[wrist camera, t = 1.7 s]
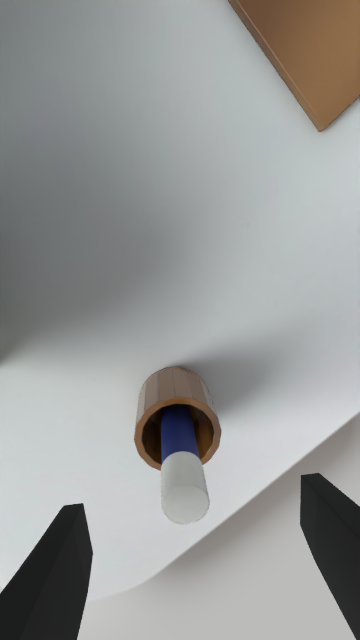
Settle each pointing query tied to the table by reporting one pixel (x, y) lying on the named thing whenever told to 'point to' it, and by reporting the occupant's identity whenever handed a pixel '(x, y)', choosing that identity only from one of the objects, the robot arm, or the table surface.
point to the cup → (166, 391)
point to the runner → (310, 49)
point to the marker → (181, 468)
